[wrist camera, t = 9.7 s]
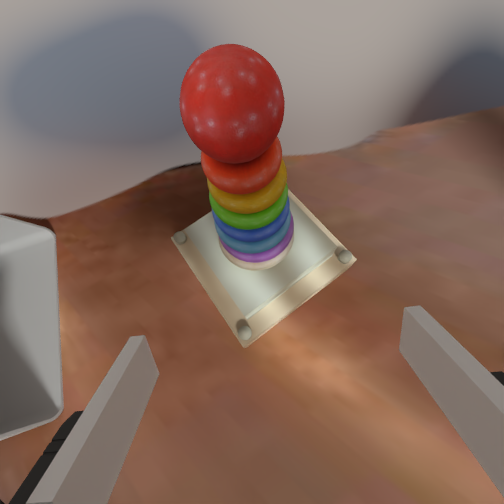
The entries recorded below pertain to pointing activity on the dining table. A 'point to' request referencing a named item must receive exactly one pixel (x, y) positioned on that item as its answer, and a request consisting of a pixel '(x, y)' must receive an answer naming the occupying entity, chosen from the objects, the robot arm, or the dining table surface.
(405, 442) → the dining table surface
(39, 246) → the tank
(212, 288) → the plinth
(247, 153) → the stacking toy
